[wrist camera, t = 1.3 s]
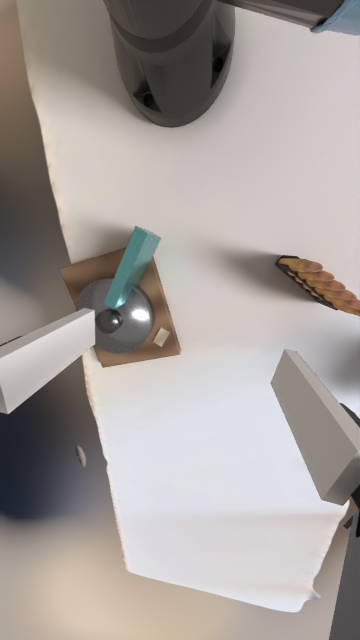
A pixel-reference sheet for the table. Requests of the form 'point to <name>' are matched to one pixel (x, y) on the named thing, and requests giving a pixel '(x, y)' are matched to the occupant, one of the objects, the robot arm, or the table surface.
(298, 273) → the ammunition clip
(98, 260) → the stand
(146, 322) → the dial
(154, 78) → the robot arm
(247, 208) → the table surface
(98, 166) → the table surface
